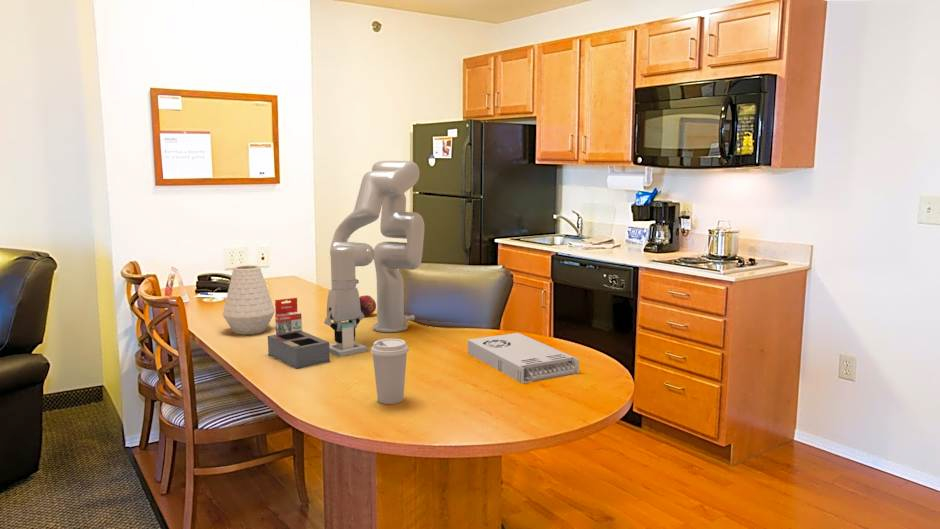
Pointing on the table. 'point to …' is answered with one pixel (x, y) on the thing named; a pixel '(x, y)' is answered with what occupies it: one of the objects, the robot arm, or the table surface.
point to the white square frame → (357, 349)
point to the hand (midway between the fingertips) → (345, 340)
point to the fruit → (367, 305)
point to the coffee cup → (390, 369)
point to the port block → (298, 349)
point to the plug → (346, 336)
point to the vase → (248, 301)
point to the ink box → (287, 316)
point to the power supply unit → (522, 357)
